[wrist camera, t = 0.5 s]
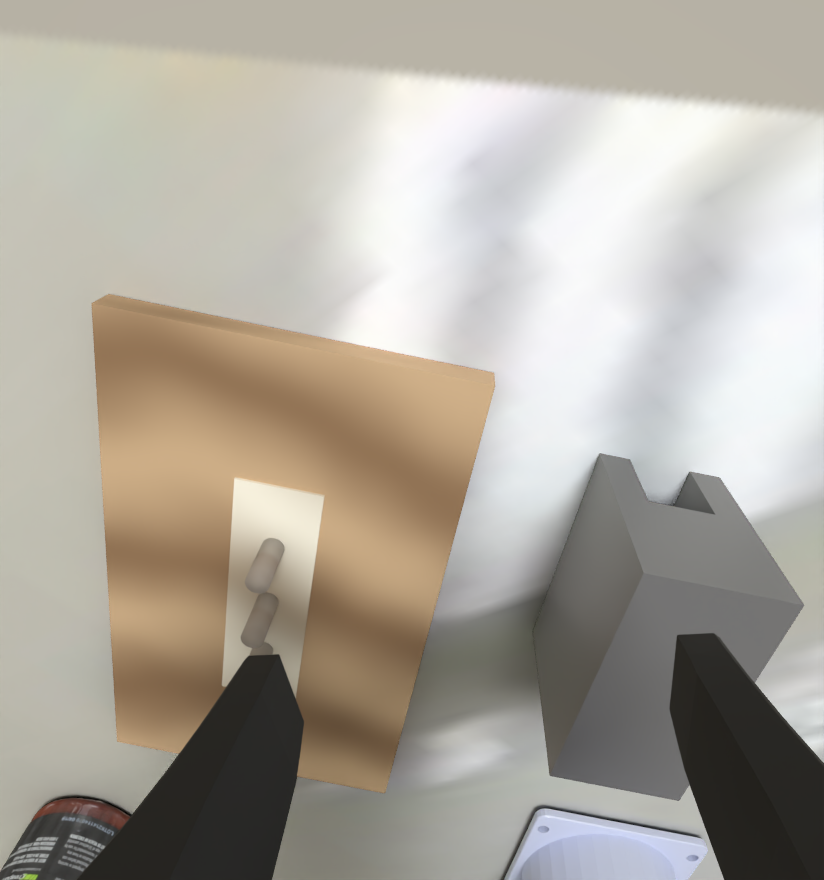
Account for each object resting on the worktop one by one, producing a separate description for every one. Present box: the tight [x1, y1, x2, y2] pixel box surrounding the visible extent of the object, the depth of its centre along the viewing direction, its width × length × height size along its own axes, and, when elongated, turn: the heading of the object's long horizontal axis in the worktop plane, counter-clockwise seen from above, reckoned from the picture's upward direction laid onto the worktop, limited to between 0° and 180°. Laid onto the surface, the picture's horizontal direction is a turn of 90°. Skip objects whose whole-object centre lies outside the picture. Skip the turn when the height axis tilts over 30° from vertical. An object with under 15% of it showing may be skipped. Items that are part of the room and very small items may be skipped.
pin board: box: [92, 294, 495, 793], centre depth 23 cm, size 20×12×3 cm, turn 170°
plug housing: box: [533, 453, 804, 801], centre depth 20 cm, size 8×4×6 cm, turn 170°
